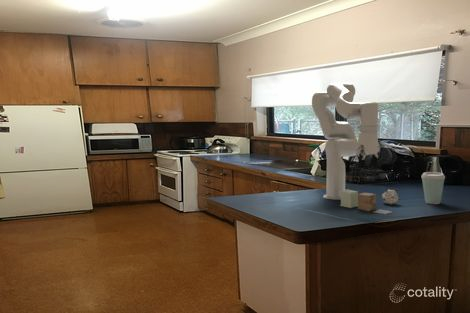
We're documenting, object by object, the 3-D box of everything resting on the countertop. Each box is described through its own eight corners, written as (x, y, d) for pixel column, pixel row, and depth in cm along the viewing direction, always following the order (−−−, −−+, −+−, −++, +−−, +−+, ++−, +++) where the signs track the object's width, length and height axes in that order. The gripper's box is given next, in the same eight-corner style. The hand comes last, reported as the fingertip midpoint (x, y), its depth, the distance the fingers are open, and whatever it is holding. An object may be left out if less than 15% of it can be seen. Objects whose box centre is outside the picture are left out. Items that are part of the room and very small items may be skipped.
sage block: (347, 203, 193) (348, 189, 192) (357, 205, 189) (357, 191, 188) (340, 205, 189) (341, 191, 189) (350, 207, 185) (350, 192, 184)
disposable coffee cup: (445, 205, 190) (447, 175, 189) (421, 204, 194) (422, 174, 192) (442, 201, 200) (443, 172, 199) (418, 200, 204) (420, 171, 202)
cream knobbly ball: (386, 211, 195) (382, 193, 201) (404, 207, 191) (399, 188, 196) (380, 205, 189) (376, 186, 195) (398, 200, 185) (393, 181, 190)
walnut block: (364, 207, 186) (365, 192, 185) (375, 209, 181) (375, 194, 181) (358, 209, 182) (358, 194, 181) (368, 211, 178) (369, 195, 177)
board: (351, 203, 196) (351, 201, 196) (397, 212, 178) (397, 210, 177) (333, 208, 187) (333, 205, 187) (380, 217, 169) (380, 215, 169)
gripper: (372, 129, 186) (371, 165, 188) (350, 130, 176) (349, 168, 177) (386, 129, 180) (385, 166, 182) (364, 130, 170) (364, 170, 171)
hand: (367, 167), depth 180 cm, fingers open, 9 cm apart
